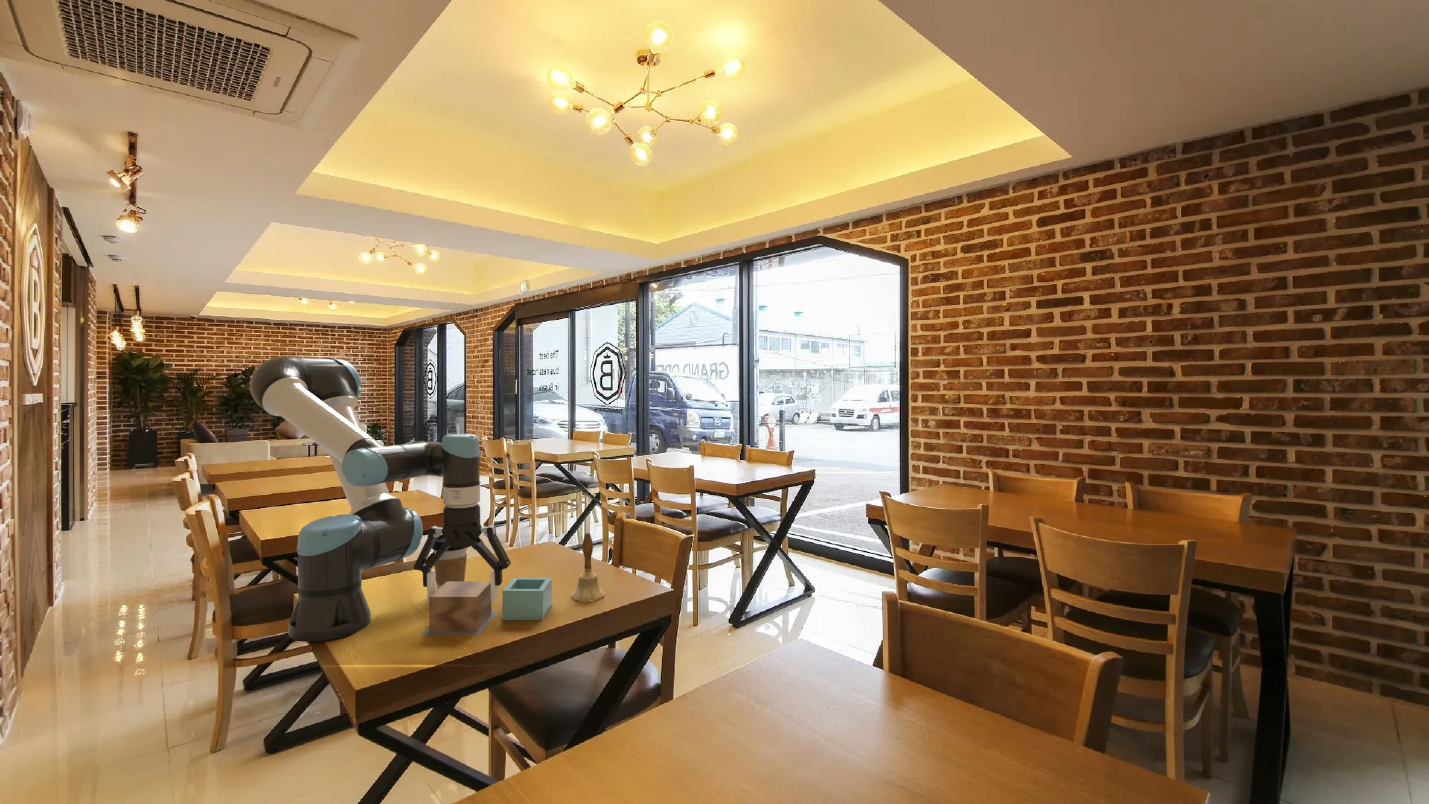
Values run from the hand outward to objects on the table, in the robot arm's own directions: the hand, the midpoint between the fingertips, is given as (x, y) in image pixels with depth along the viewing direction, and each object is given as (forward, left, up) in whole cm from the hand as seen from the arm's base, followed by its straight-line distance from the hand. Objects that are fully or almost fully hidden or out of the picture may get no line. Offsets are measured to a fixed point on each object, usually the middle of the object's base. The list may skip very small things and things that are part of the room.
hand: (463, 600), depth 138 cm
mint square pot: (+13, +6, -5) cm, 15 cm away
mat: (0, 0, -5) cm, 5 cm away
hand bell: (+25, +18, -6) cm, 31 cm away
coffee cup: (-9, +18, -6) cm, 21 cm away
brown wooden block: (0, 0, -5) cm, 5 cm away
